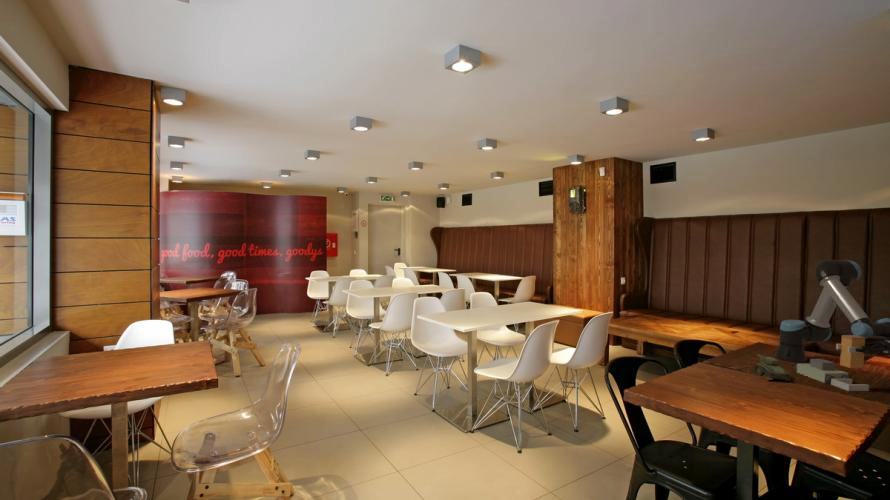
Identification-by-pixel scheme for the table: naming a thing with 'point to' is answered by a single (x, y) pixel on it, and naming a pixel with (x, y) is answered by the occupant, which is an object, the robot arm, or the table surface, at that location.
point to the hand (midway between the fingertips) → (842, 348)
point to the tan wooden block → (852, 358)
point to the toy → (771, 369)
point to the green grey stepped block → (829, 374)
